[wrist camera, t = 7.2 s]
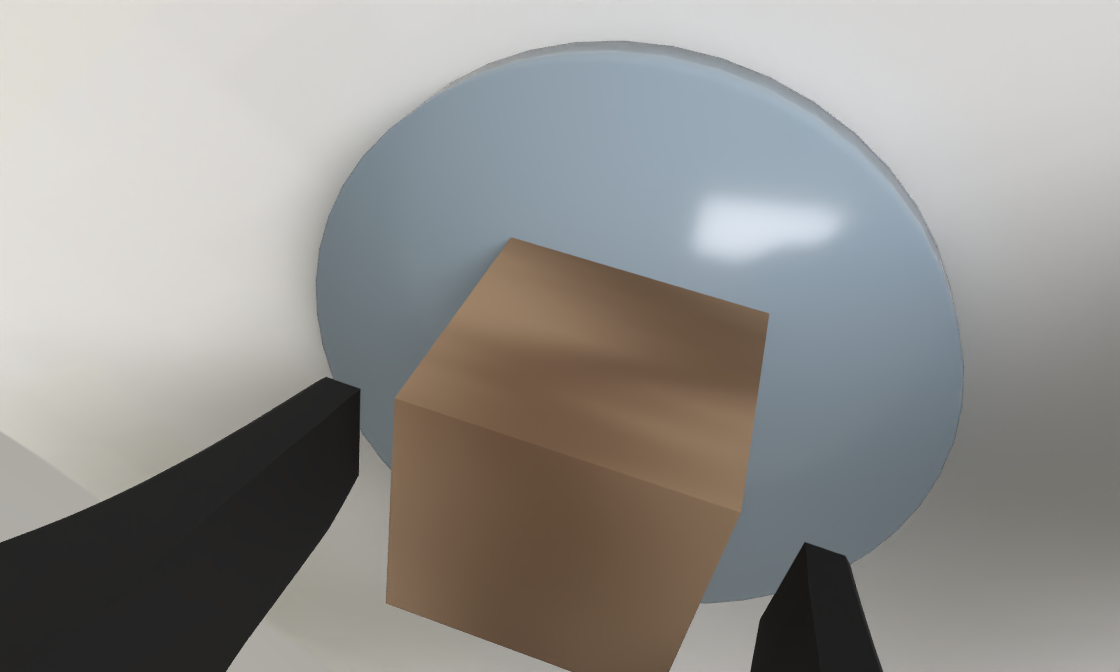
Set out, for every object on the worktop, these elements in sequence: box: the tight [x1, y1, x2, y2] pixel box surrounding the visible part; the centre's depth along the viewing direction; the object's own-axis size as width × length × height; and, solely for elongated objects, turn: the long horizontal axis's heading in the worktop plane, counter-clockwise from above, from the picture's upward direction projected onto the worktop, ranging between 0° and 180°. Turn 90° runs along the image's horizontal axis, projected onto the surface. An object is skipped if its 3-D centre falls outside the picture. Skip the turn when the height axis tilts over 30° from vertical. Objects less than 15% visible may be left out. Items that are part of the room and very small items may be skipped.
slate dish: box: [316, 41, 964, 603], centre depth 15 cm, size 12×12×1 cm
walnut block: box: [386, 237, 769, 672], centre depth 13 cm, size 4×4×4 cm
